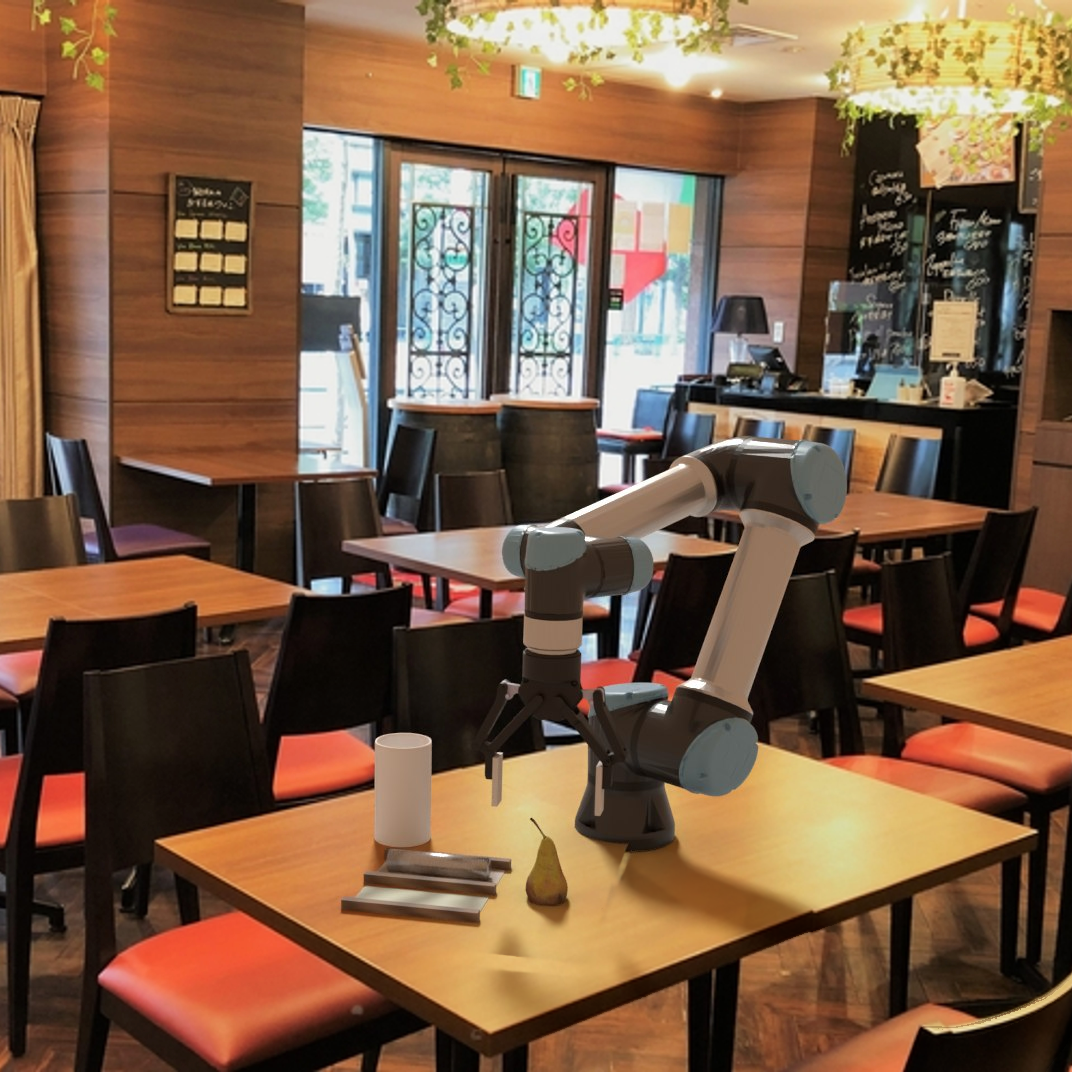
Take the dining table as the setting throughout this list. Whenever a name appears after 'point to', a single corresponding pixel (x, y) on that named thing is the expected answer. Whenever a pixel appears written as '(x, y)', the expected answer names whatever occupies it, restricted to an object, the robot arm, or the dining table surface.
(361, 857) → the dining table surface
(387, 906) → the rack
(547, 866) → the fruit
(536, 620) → the robot arm
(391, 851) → the rod
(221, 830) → the dining table surface
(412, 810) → the cup
